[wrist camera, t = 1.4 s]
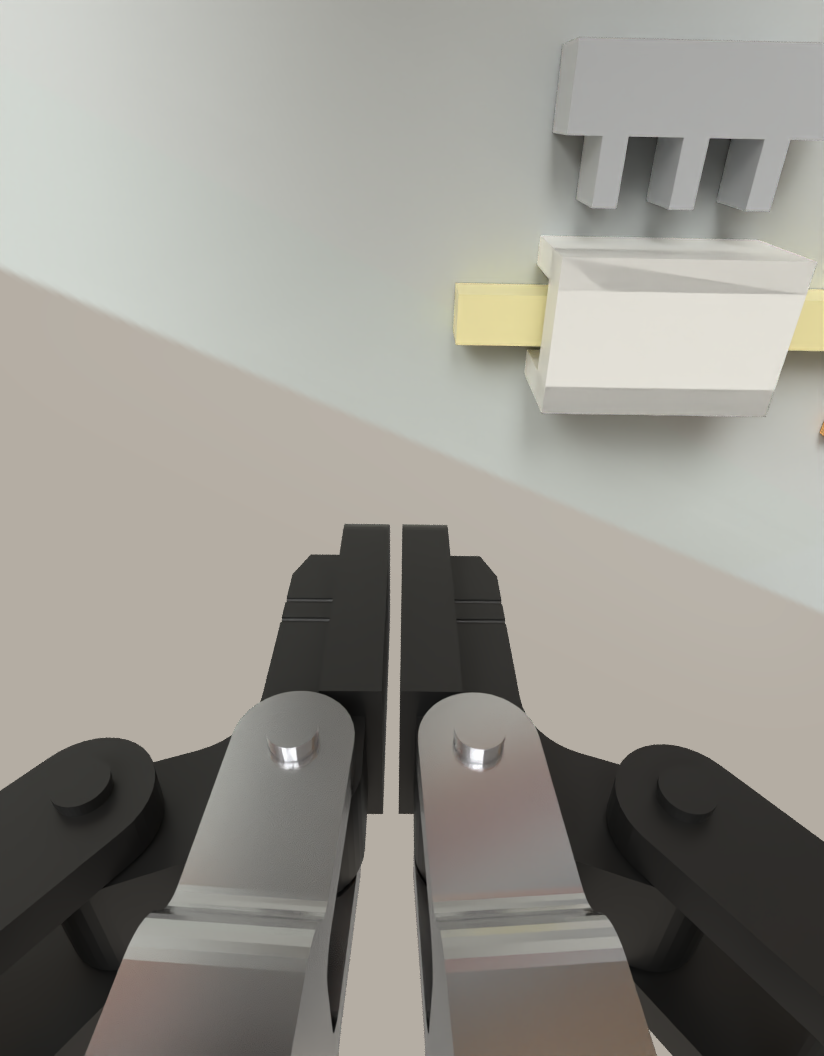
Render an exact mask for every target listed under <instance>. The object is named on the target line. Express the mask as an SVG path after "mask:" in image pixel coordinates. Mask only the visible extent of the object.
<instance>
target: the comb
mask: <svg viewBox="0 0 824 1056" xmlns="http://www.w3.org/2000/svg"><path fill="white" fill-rule="evenodd" d="M552 133H557V134H563V135H584V143H583V151H582V158H581V165H580V172H579V179H578V187H577V194H576V200H578V201H579V202H581V203H583V204H585V205H587V206H589V207H590V208H607V209H616V208H617V202H618V197H619V191H620V185H621V179H622V173H623V167H624V162H625V156H626V150H627V144H628V138H629V136H631V137H658V141H657V146H656V151H655V156H654V161H653V167H652V172H651V177H650V182H649V188H648V193H647V198H646V201H648V202H650V203H653V204H655V205H658V206H660V207H663V208H666V209H668V210H693V209H694V205H695V201H696V196H697V192H698V188H699V183H700V179H701V175H702V170H703V166H704V161H705V157H706V153H707V148H708V144H709V140H710V138H727V139H731V143H730V147H729V151H728V155H727V159H726V163H725V167H724V171H723V176H722V180H721V184H720V188H719V192H718V196H717V200H716V202H717V203H720V204H723V205H727V206H730V207H733V208H737V209H740V210H743V211H761V212H770V210H771V206H772V203H773V199H774V196H775V192H776V189H777V185H778V182H779V178H780V175H781V172H782V168H783V165H784V161H785V158H786V154H787V151H788V147H789V144H790V140H822V141H824V43H814V42H771V41H728V40H684V39H641V38H597V37H578V38H576V39H574V40H571V41H569V42H567V43H564V44H563V45H562V54H561V63H560V71H559V80H558V89H557V97H556V106H555V114H554V123H553V132H552Z"/></svg>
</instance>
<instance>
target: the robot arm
mask: <svg viewBox="0 0 824 1056" xmlns="http://www.w3.org/2000/svg"><path fill="white" fill-rule="evenodd" d="M402 530H403V531H402V600H401V601H402V603H401V670H400V752H399V814H414V867H413V878H414V893H415V907H416V922H417V935H418V948H419V949H418V950H419V965H420V979H421V993H422V1007H423V1022H424V1037H425V1056H657V1054H656V1051H655V1048H654V1045H653V1042H652V1038H651V1035H650V1032H649V1030H650V1031H651V1032H652V1033H653V1034H654V1035H655V1036H656V1038H657V1039H658V1040H659V1041H660V1042H661V1043H662V1044H663V1045H664V1046H665V1048H666V1049H667V1050H668V1051H669V1052H670V1053H671V1054H672V1055H673V1056H824V841H822V840H821V839H819V838H818V837H817V836H815V835H814V834H812V833H811V832H810V831H809V830H807V829H806V828H805V827H803V826H802V825H800V824H799V823H798V822H796V821H795V820H793V819H792V818H791V817H790V816H788V815H787V814H786V813H784V812H783V811H781V810H780V809H778V808H777V807H776V806H775V805H773V804H772V803H770V802H769V801H768V800H766V799H765V798H764V797H762V796H761V795H760V794H758V793H757V792H756V791H754V790H753V789H752V788H750V787H749V786H748V785H746V784H745V783H743V782H742V781H741V780H739V779H738V778H737V777H735V776H734V775H733V774H731V773H730V772H729V771H727V770H726V769H724V768H723V767H722V766H720V765H719V764H717V763H716V762H714V761H713V760H711V759H710V758H708V757H706V756H704V755H702V754H700V753H698V752H695V751H692V750H690V749H687V748H683V747H679V746H674V745H665V744H663V745H651V746H645V747H642V748H639V749H637V750H635V751H633V752H632V753H630V754H629V755H628V756H627V757H626V758H625V759H624V760H623V761H622V762H621V764H620V765H619V764H615V763H612V762H608V761H605V760H602V759H598V758H595V757H591V756H587V755H584V754H581V753H578V752H575V751H572V750H569V749H567V748H565V747H563V746H561V745H559V744H557V743H555V742H554V741H552V740H550V739H549V738H548V737H546V736H545V735H544V734H543V733H542V732H540V731H539V730H538V729H537V728H536V727H535V726H534V724H533V722H532V721H531V719H530V718H529V717H528V716H527V715H526V713H525V711H524V709H523V707H522V704H521V700H520V696H519V691H518V686H517V680H516V675H515V670H514V664H513V659H512V654H511V649H510V643H509V638H508V633H507V628H506V624H505V617H504V612H503V606H502V604H501V597H500V590H499V586H498V580H497V576H496V575H495V574H494V573H493V572H492V570H491V569H490V568H489V567H488V565H487V564H486V563H485V562H484V561H483V559H482V558H481V557H479V556H450V548H449V536H448V527H447V525H403V529H402ZM389 631H390V525H386V524H345V525H344V529H343V536H342V542H341V549H340V555H310V556H309V557H308V559H306V560H305V561H304V563H303V564H302V565H301V566H300V567H299V568H298V569H297V570H296V571H295V572H294V573H293V575H292V579H291V583H290V587H289V591H288V595H287V602H286V603H285V607H284V611H283V615H282V622H281V623H280V627H279V631H278V635H277V639H276V643H275V647H274V651H273V655H272V659H271V663H270V667H269V671H268V675H267V679H266V683H265V687H264V692H263V695H262V698H261V701H260V703H258V704H256V705H255V706H254V707H252V708H251V709H250V710H249V711H248V712H247V713H246V714H245V715H244V716H243V717H242V718H241V719H240V721H239V722H238V724H237V725H236V727H235V729H234V732H233V734H232V735H231V736H230V737H228V738H226V739H225V740H223V741H221V742H219V743H217V744H215V745H213V746H210V747H207V748H204V749H202V750H198V751H195V752H191V753H187V754H183V755H180V756H176V757H172V758H168V759H164V760H161V761H157V762H153V761H152V759H151V757H150V755H149V754H148V753H147V752H146V751H145V750H144V749H143V748H142V747H141V746H139V745H138V744H136V743H134V742H131V741H129V740H125V739H120V738H98V739H93V740H88V741H84V742H81V743H78V744H75V745H72V746H70V747H68V748H66V749H64V750H61V751H60V752H58V753H56V754H55V755H53V756H52V757H50V758H49V759H47V760H45V761H44V762H42V763H41V764H39V765H38V766H36V767H35V768H33V769H32V770H30V771H29V772H28V773H26V774H25V775H23V776H22V777H20V778H19V779H17V780H16V781H14V782H13V783H11V784H10V785H8V786H7V787H5V788H4V789H2V790H1V791H0V1056H339V1044H340V1034H341V1024H342V1017H343V1009H344V1001H345V993H346V986H347V978H348V970H349V962H350V954H351V946H352V938H353V930H354V922H355V914H356V906H357V898H358V891H359V883H360V871H361V864H362V861H363V857H364V851H365V836H366V820H367V814H383V797H384V769H385V742H386V714H387V686H388V660H389Z"/></svg>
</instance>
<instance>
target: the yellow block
mask: <svg viewBox="0 0 824 1056" xmlns="http://www.w3.org/2000/svg"><path fill="white" fill-rule="evenodd" d="M547 293H548V285H539V284H483V283H456V285H455V304H454V323H453V333H454V338H455V343H456V345H491V346H541V340H542V332H543V324H544V316H545V309H546V301H547ZM788 350H793V351H824V290H820V289H808V292H807V295H806V298H805V301H804V304H803V307H802V310H801V313H800V316H799V319H798V322H797V325H796V328H795V331H794V334H793V337H792V340H791V343H790V346H789V349H788Z"/></svg>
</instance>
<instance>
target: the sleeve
mask: <svg viewBox="0 0 824 1056" xmlns="http://www.w3.org/2000/svg"><path fill="white" fill-rule="evenodd" d="M817 263H818V262H817V261H814V260H811V259H809V258H806V257H803V256H801V255H798V254H795V253H793V252H790V251H787V250H785V249H782V248H779V247H777V246H774V245H771V244H769V243H766V242H763V241H761V240H755V239H702V238H649V237H596V236H543V235H540V242H539V250H538V259H537V265H538V267H539V268H540V269H541V270H542V271H543V273H544V274H545V275H546V276H547V277H548V279H549V285H548V293H547V301H546V309H545V316H544V324H543V332H542V340H541V348H540V350H532V349H527V354H526V363H525V372H524V374H525V376H526V379H527V381H528V383H529V386H530V388H531V390H532V393H533V395H534V397H535V399H536V402H537V404H538V406H539V409H540V411H541V413H542V414H605V415H671V416H736V417H766V414H767V411H768V408H769V405H770V402H771V399H772V396H773V393H774V390H775V387H776V384H777V381H778V379H779V376H780V373H781V370H782V367H783V364H784V361H785V358H786V355H787V352H788V349H789V346H790V343H791V340H792V337H793V334H794V331H795V328H796V325H797V322H798V319H799V316H800V313H801V310H802V307H803V304H804V301H805V298H806V295H807V292H808V289H809V286H810V283H811V280H812V277H813V275H814V272H815V269H816V266H817Z"/></svg>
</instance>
